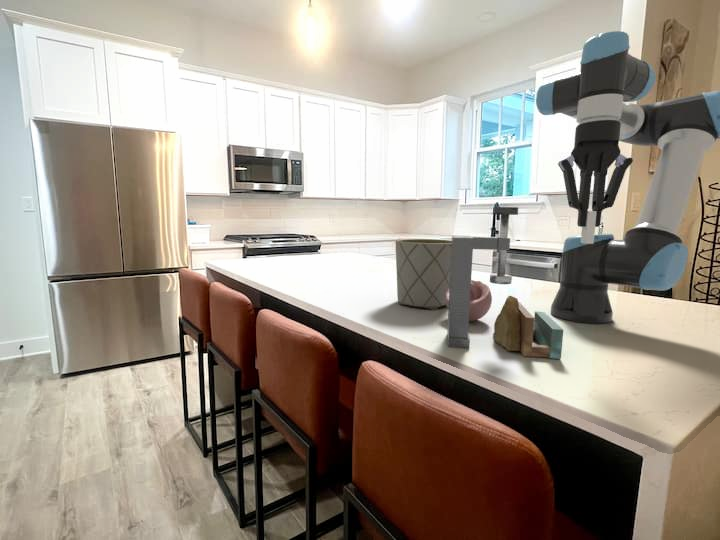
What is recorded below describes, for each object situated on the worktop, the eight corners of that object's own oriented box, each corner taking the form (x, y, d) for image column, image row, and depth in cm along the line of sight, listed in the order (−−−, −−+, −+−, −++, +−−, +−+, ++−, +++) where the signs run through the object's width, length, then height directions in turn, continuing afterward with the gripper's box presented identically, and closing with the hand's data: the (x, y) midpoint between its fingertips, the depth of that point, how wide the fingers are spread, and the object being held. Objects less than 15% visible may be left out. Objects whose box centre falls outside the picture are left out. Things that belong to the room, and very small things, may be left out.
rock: (532, 343, 76) (541, 320, 83) (499, 312, 77) (512, 292, 84) (494, 368, 82) (506, 344, 90) (465, 339, 84) (479, 318, 91)
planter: (441, 314, 109) (444, 244, 106) (383, 305, 119) (384, 241, 116) (463, 301, 124) (466, 240, 122) (410, 294, 135) (411, 238, 132)
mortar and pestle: (435, 320, 103) (437, 278, 101) (457, 312, 111) (459, 273, 110) (477, 329, 94) (480, 284, 93) (497, 320, 103) (500, 278, 101)
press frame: (497, 337, 89) (504, 236, 85) (504, 351, 80) (512, 239, 76) (447, 334, 91) (451, 235, 87) (448, 346, 82) (453, 237, 79)
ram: (510, 280, 84) (515, 207, 82) (514, 285, 79) (520, 207, 77) (486, 279, 85) (491, 207, 83) (489, 283, 80) (494, 207, 78)
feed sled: (542, 336, 89) (544, 303, 88) (560, 359, 75) (564, 319, 74) (510, 334, 90) (512, 301, 89) (523, 355, 77) (526, 317, 76)
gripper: (626, 125, 77) (614, 242, 81) (556, 128, 79) (547, 241, 83) (645, 116, 70) (631, 245, 73) (568, 119, 72) (558, 244, 76)
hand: (586, 242), depth 78 cm, fingers closed
